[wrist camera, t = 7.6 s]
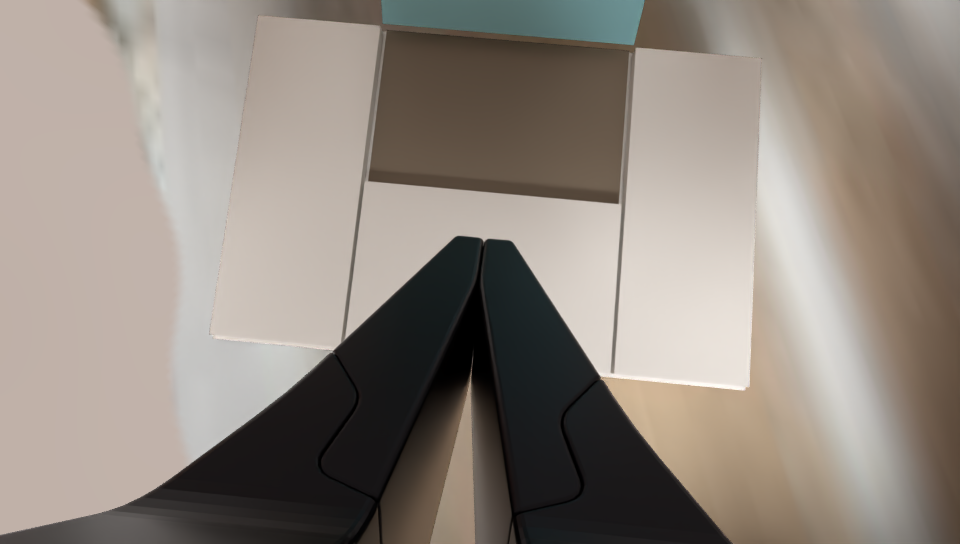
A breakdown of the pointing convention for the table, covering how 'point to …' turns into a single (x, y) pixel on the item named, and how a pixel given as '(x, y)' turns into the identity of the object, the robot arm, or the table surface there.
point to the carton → (497, 188)
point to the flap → (524, 17)
